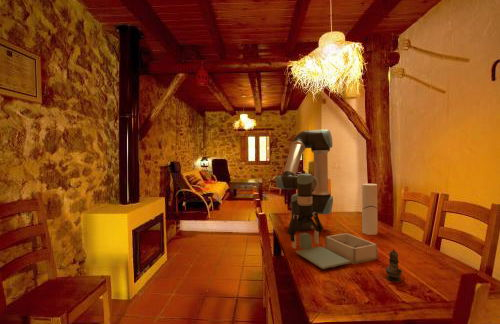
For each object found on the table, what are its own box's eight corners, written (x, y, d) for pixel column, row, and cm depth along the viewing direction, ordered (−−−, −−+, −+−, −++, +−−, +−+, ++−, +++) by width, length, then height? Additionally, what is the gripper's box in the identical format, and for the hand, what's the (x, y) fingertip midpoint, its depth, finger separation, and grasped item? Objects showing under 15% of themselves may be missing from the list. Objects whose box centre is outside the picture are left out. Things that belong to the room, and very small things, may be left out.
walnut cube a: (333, 249, 136) (333, 241, 136) (337, 247, 139) (337, 239, 139) (340, 251, 133) (340, 243, 133) (344, 249, 136) (344, 241, 136)
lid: (290, 251, 137) (290, 235, 137) (314, 247, 143) (314, 231, 143) (322, 272, 113) (322, 251, 113) (350, 266, 119) (350, 246, 119)
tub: (325, 250, 139) (325, 236, 139) (346, 245, 144) (346, 233, 144) (354, 264, 120) (353, 249, 120) (377, 259, 126) (377, 244, 126)
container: (379, 235, 161) (378, 185, 160) (363, 234, 163) (363, 185, 162) (375, 231, 170) (375, 183, 169) (361, 230, 172) (360, 183, 170)
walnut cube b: (355, 252, 131) (355, 244, 131) (363, 252, 131) (363, 244, 131) (358, 256, 127) (358, 247, 127) (367, 255, 127) (367, 247, 127)
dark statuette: (382, 276, 109) (382, 246, 109) (396, 275, 110) (396, 246, 109) (391, 283, 103) (391, 252, 103) (405, 282, 104) (405, 251, 103)
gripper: (287, 207, 129) (288, 251, 130) (329, 203, 138) (330, 244, 139) (279, 205, 136) (280, 246, 137) (320, 200, 145) (321, 239, 146)
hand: (305, 245), depth 138 cm, fingers open, 13 cm apart
